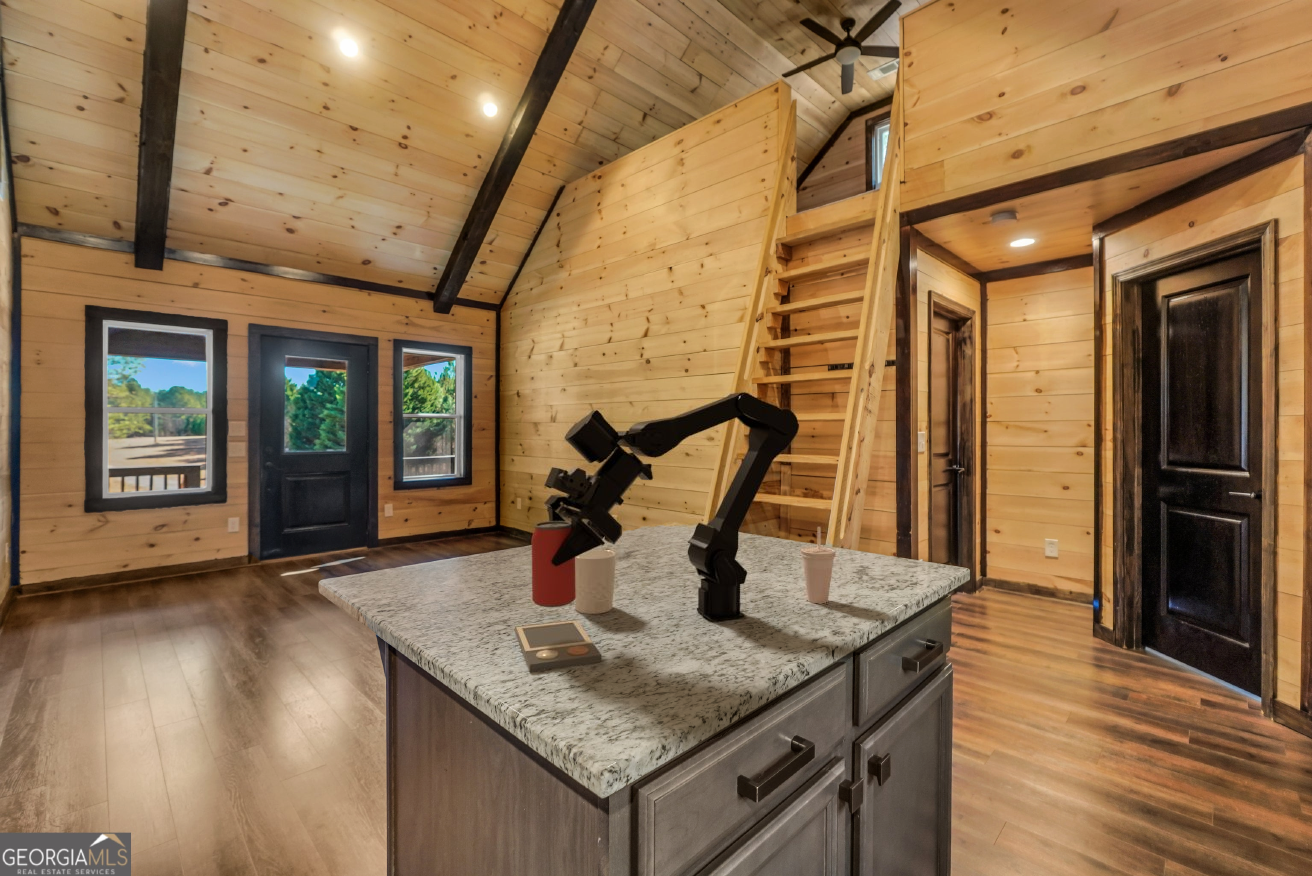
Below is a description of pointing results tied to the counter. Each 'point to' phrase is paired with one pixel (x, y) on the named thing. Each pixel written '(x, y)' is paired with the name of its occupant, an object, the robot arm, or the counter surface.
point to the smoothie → (818, 571)
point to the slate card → (556, 645)
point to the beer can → (551, 566)
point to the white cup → (594, 581)
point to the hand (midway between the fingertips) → (545, 559)
